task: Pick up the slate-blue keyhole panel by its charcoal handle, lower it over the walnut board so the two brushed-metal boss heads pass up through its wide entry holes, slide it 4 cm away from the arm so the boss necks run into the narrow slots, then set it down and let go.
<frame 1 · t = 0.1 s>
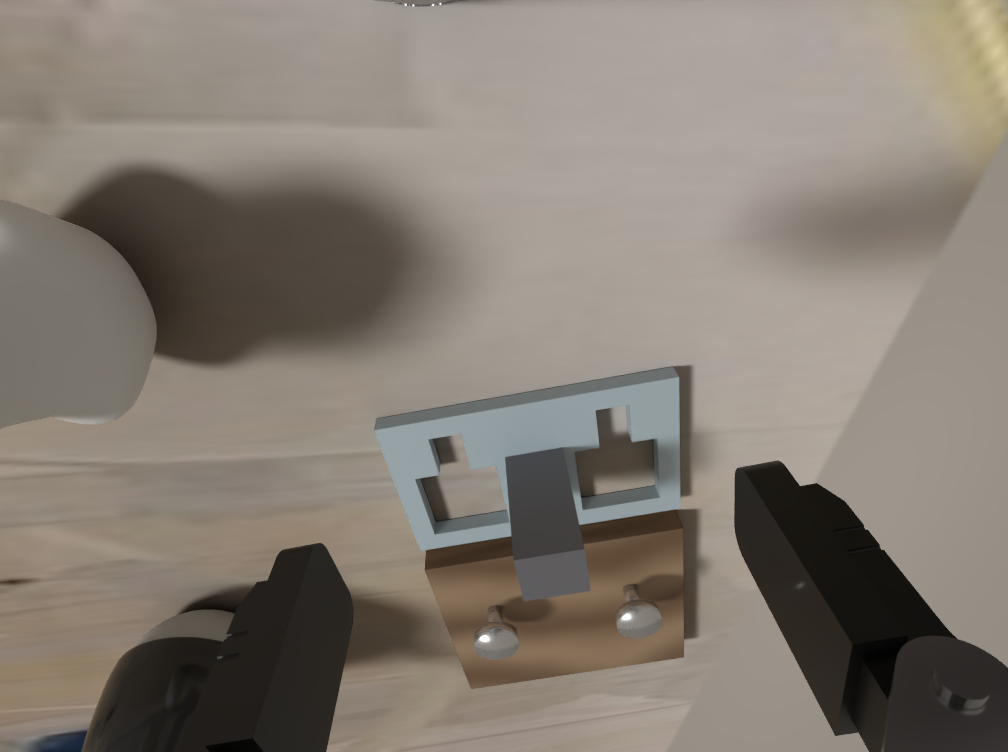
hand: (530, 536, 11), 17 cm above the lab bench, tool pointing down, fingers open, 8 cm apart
pump dispenser: (222, 630, 40), on the lab bench
white scalloped vase: (54, 285, 26), on the lab bench
walnut board: (562, 598, 40), on the lab bench
keyhole panel: (535, 460, 33), on the lab bench
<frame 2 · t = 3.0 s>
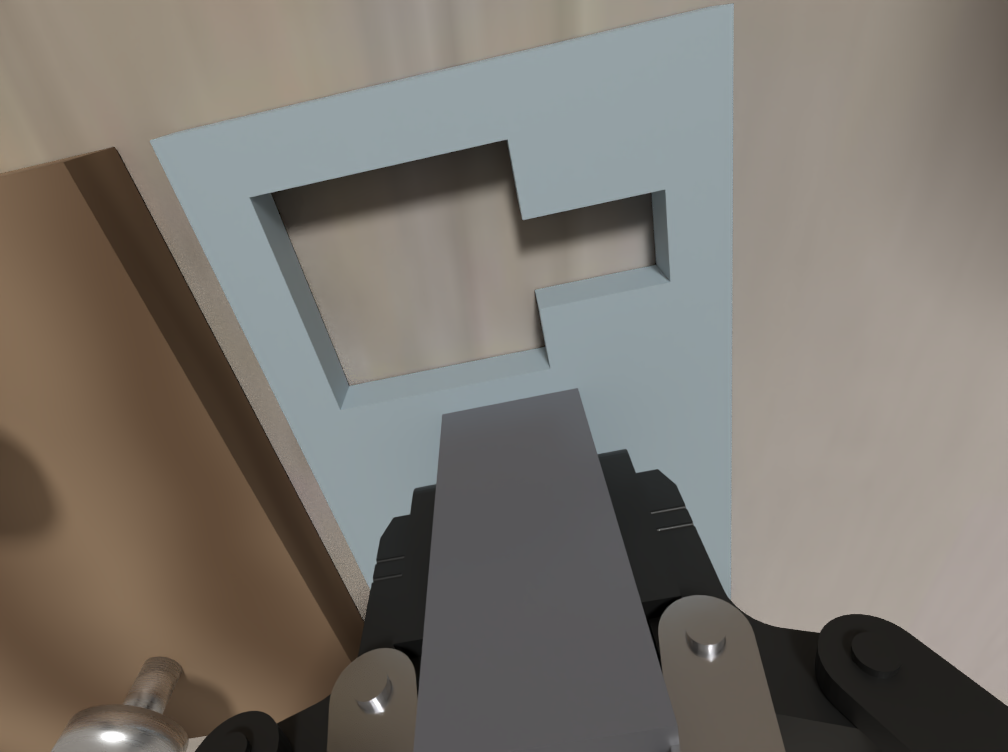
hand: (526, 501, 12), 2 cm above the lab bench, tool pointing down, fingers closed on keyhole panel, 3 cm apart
walnut board: (31, 525, 15), on the lab bench
keyhole panel: (520, 432, 14), on the lab bench, touching gripper
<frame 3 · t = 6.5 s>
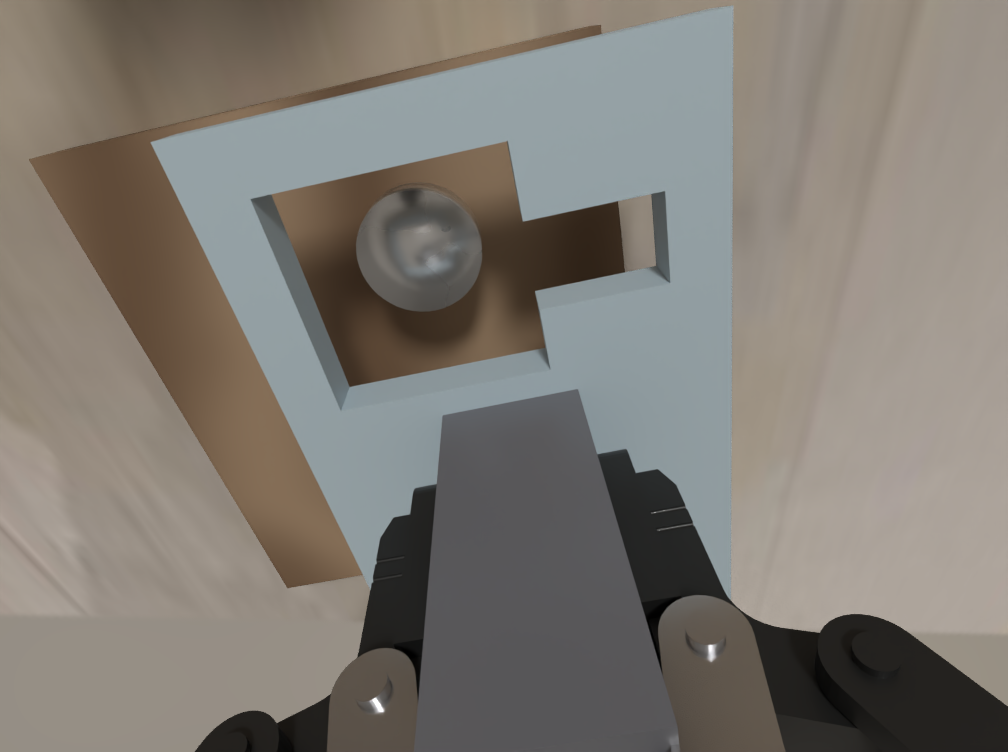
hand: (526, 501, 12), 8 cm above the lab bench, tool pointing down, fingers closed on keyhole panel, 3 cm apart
walnut board: (408, 355, 19), on the lab bench
keyhole panel: (520, 432, 14), point 5 cm above the lab bench, touching gripper
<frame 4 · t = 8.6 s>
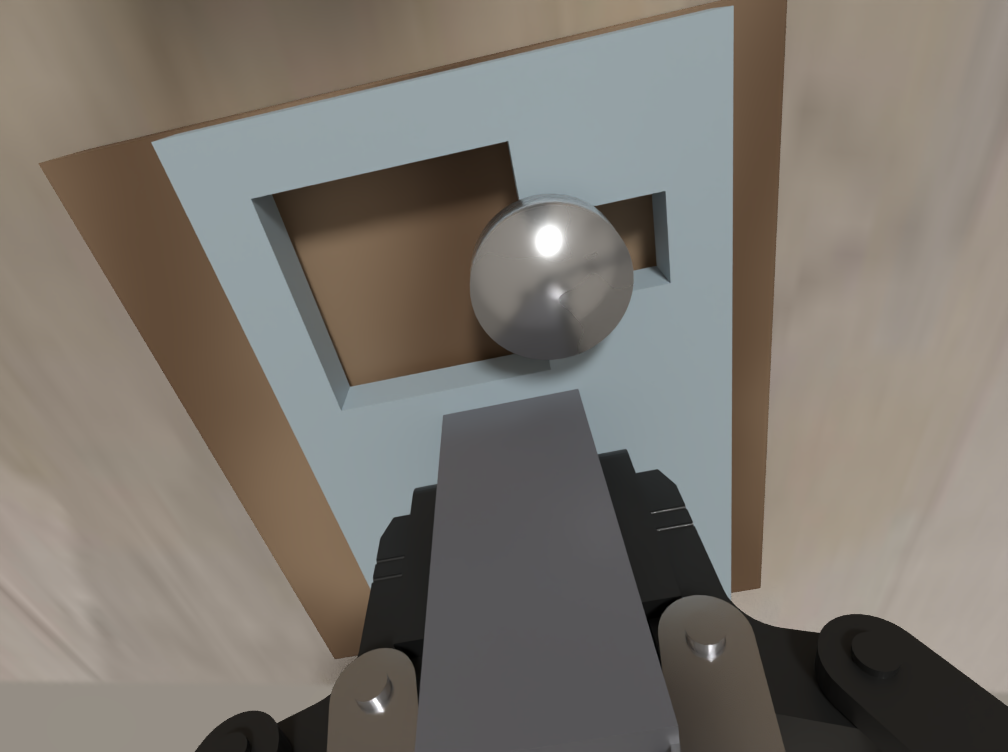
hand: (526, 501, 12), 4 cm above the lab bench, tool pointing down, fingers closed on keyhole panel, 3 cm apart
walnut board: (488, 396, 16), on the lab bench
keyhole panel: (520, 432, 14), point 2 cm above the lab bench, touching gripper
when the fingers open (4 cm above the lab bench, at t = 10.0 s): keyhole panel stays where it is, resting on walnut board.
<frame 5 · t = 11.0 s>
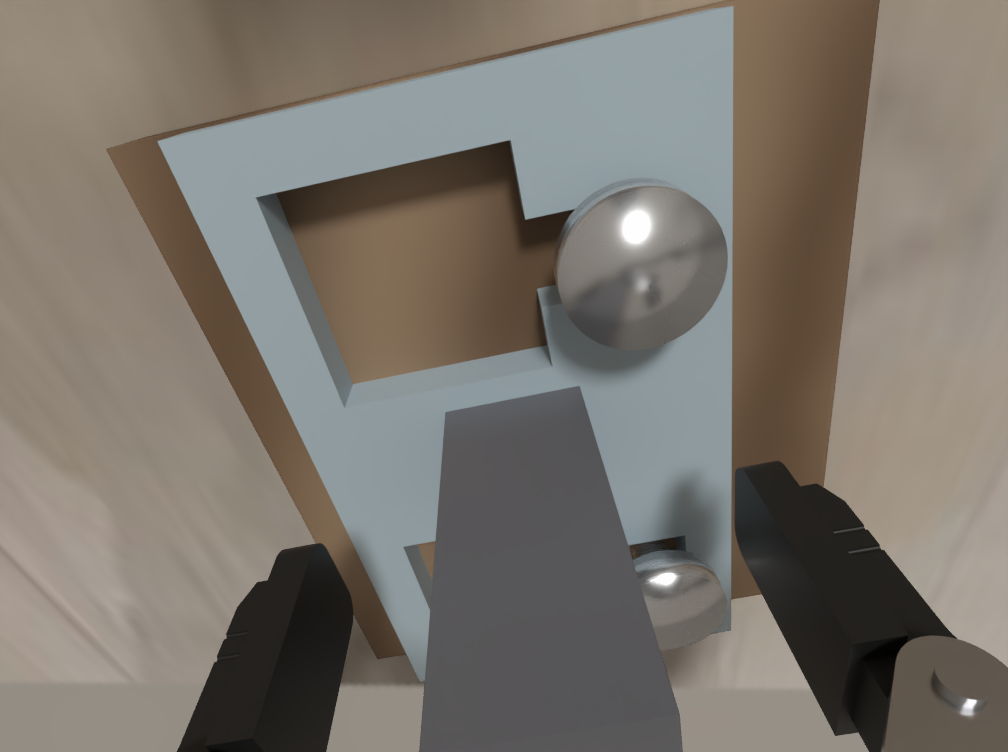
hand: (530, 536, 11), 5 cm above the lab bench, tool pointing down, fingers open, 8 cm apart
walnut board: (543, 391, 15), on the lab bench
keyhole panel: (522, 429, 14), point 1 cm above the lab bench, touching walnut board
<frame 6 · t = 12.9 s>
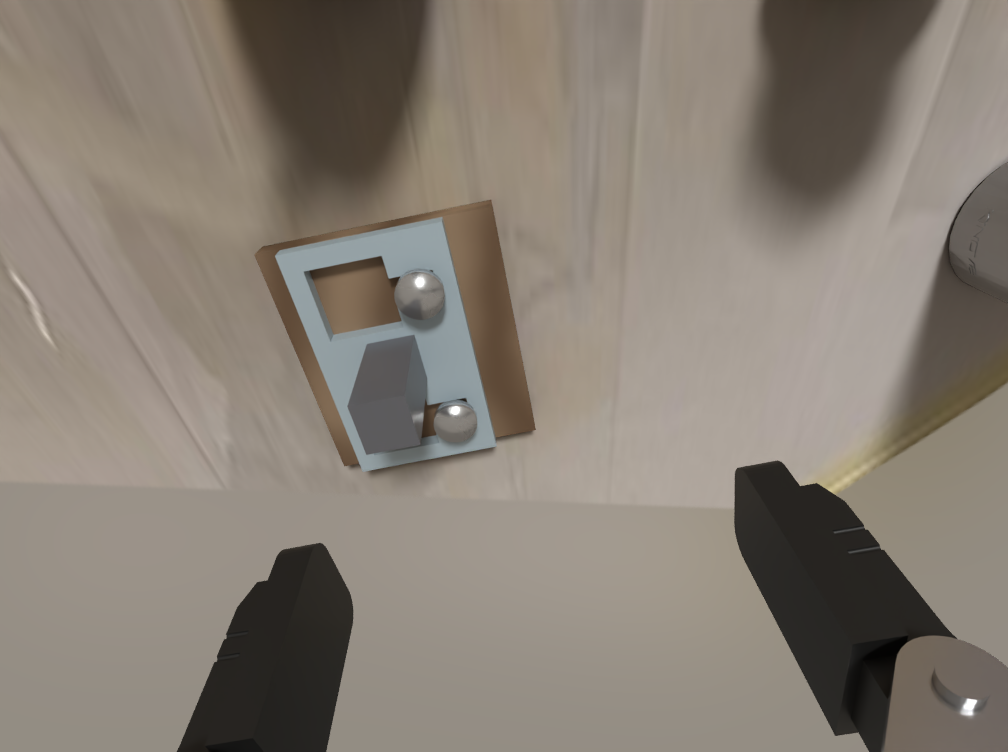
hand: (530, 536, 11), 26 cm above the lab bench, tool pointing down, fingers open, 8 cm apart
walnut board: (411, 340, 38), on the lab bench
keyhole panel: (399, 354, 37), point 1 cm above the lab bench, touching walnut board
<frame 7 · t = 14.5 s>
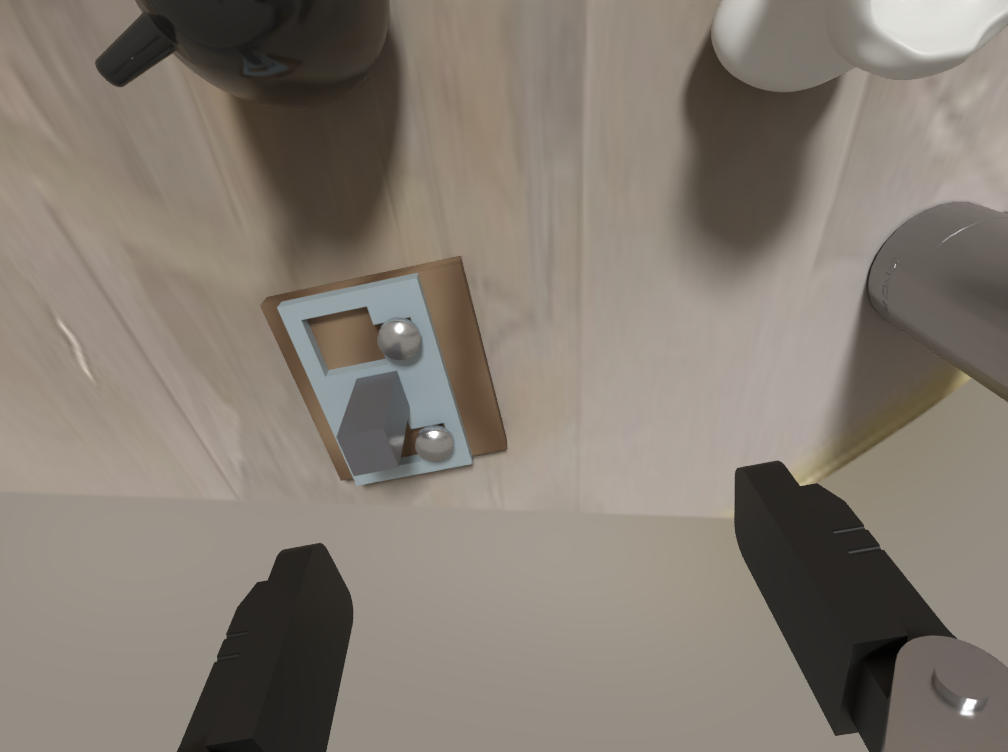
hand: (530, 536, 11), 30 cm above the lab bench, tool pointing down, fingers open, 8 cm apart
pump dispenser: (304, 0, 32), on the lab bench
walnut board: (396, 373, 44), on the lab bench
keyhole panel: (385, 385, 42), point 1 cm above the lab bench, touching walnut board
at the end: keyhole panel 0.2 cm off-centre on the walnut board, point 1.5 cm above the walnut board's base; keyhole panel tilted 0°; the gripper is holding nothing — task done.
